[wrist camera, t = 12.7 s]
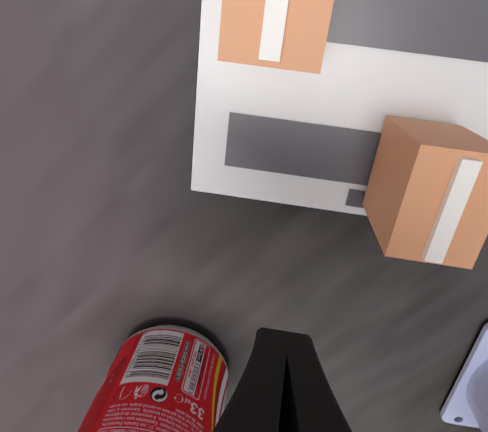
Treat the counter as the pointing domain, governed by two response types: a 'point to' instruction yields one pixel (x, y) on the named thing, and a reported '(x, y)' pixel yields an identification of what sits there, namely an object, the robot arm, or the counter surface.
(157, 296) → the counter surface
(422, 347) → the counter surface
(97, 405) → the soda can
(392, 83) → the switch bank
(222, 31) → the tab near
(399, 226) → the tab far
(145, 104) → the counter surface
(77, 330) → the counter surface
